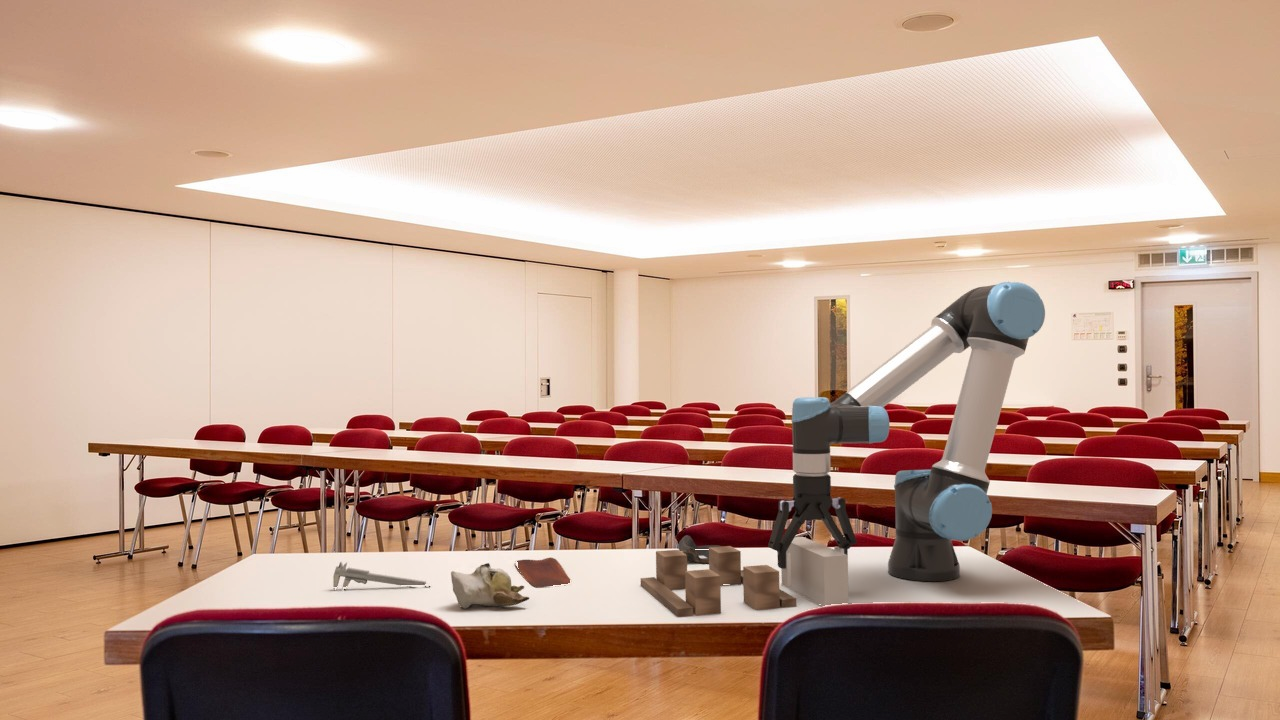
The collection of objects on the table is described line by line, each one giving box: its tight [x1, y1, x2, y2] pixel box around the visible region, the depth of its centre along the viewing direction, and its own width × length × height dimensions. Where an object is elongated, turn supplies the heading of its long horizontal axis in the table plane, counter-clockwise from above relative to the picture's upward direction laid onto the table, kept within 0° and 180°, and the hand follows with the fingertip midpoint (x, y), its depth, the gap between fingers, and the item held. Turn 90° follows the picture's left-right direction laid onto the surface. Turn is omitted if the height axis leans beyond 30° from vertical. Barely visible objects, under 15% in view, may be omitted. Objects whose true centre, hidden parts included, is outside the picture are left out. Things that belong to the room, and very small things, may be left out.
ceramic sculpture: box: [450, 562, 530, 609], centre depth 182 cm, size 11×9×15 cm
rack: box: [640, 545, 797, 618], centre depth 187 cm, size 24×26×7 cm
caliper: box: [332, 561, 427, 588], centre depth 197 cm, size 20×1×6 cm, turn 96°
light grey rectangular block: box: [780, 536, 849, 607], centre depth 187 cm, size 5×20×10 cm, turn 15°
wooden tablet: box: [516, 557, 571, 588], centre depth 209 cm, size 27×10×2 cm, turn 15°
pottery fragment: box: [677, 534, 722, 564], centre depth 224 cm, size 15×12×4 cm
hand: (813, 582), depth 187 cm, fingers open, 11 cm apart
